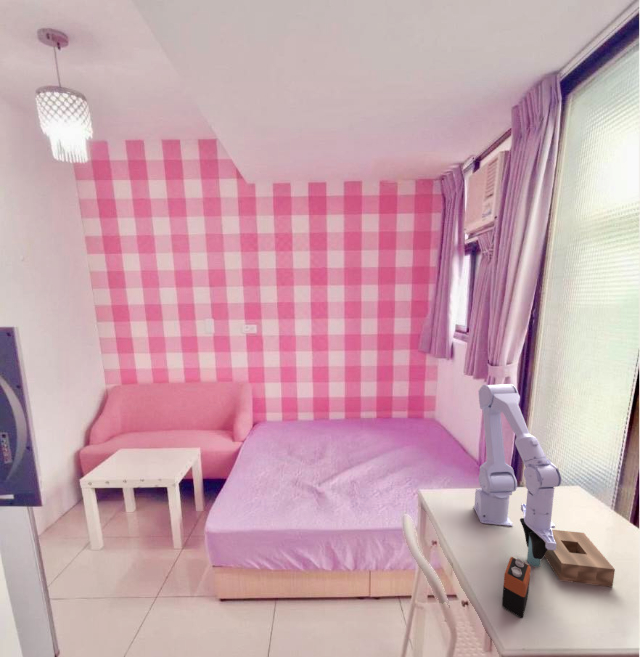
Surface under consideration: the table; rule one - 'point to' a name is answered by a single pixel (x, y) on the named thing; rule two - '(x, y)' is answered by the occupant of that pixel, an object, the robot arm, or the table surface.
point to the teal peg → (530, 557)
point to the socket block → (579, 560)
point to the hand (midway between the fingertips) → (534, 552)
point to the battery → (516, 586)
